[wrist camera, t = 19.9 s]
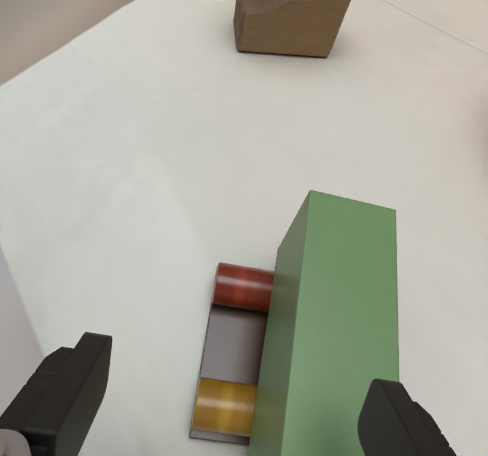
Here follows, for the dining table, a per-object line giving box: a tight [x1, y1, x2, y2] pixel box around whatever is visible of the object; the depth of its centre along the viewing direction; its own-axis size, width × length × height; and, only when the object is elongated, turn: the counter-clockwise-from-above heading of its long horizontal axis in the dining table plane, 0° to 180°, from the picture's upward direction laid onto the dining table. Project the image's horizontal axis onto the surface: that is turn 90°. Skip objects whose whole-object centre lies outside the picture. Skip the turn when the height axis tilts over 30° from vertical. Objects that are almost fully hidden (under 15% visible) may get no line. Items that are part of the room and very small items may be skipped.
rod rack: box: [189, 262, 274, 446], centre depth 27 cm, size 12×12×4 cm
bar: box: [247, 190, 399, 456], centre depth 21 cm, size 5×14×8 cm, turn 170°
